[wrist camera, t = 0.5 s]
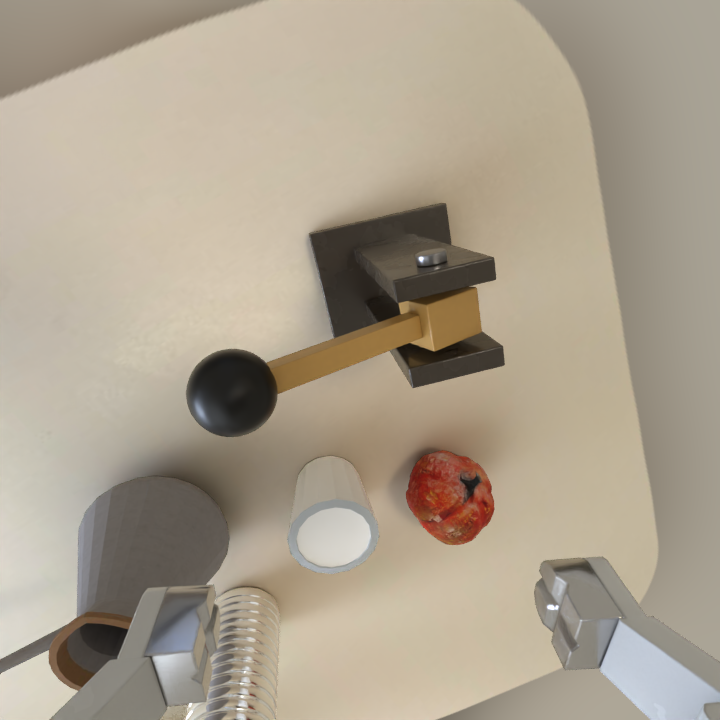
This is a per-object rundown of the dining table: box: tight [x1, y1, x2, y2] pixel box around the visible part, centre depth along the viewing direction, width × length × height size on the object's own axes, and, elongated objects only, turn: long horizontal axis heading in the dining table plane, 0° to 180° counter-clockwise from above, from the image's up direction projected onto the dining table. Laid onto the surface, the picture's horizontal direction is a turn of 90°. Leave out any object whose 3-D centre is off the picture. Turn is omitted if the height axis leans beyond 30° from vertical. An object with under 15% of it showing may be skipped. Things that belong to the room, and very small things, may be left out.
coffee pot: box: [0, 476, 229, 691], centre depth 31 cm, size 21×12×15 cm, turn 100°
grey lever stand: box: [309, 203, 505, 388], centre depth 27 cm, size 10×8×16 cm
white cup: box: [287, 456, 379, 574], centre depth 36 cm, size 7×7×7 cm
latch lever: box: [186, 286, 482, 437], centre depth 19 cm, size 13×3×3 cm, turn 102°
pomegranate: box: [406, 450, 494, 545], centre depth 38 cm, size 7×7×10 cm
